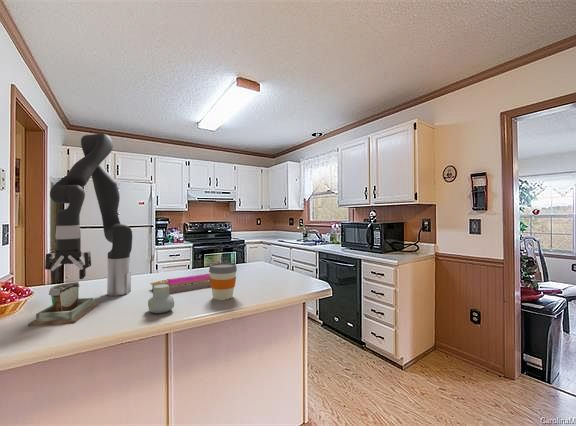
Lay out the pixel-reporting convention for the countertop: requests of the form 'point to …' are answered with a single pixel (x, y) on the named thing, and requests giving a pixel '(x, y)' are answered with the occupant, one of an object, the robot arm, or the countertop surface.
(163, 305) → the pale grey rounded vessel
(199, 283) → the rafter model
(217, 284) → the reusable coffee cup
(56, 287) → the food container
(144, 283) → the countertop surface
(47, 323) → the holder
